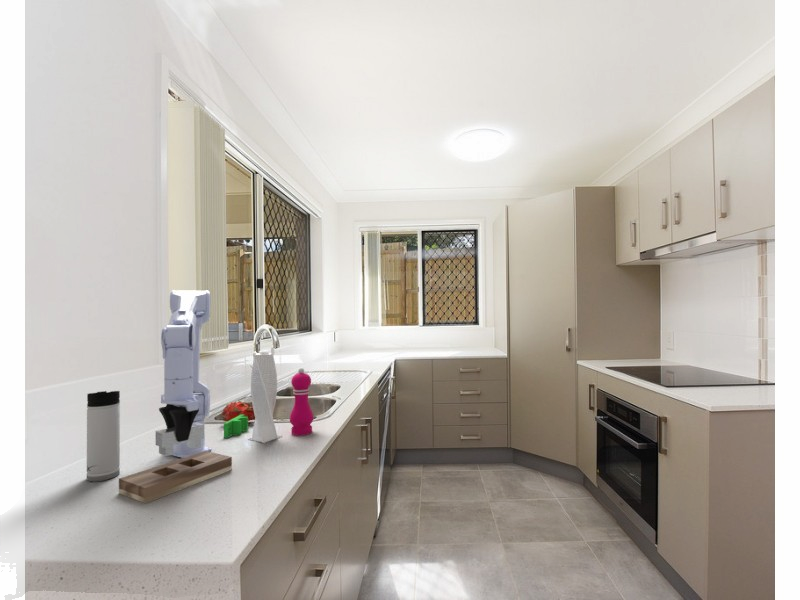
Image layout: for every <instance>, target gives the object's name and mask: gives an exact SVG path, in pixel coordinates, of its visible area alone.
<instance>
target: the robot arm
mask: <svg viewBox="0 0 800 600" xmlns="http://www.w3.org/2000/svg"><path fill="white" fill-rule="evenodd" d="M169 309H170V312H171V313H170V314H171V315H170V318H169V321H168V324H167V325H166V326H165V327H162V329H161V333H160V334H161V335H160V336H161V337H160V342H161V343H160V344H161V347H162V359H163V360H164V363H163V365H164V367H163V369H164V372H163V373H164V379H163V381H164V382H163V383H164V387H163V388H164V392H163V393H164V394H161V395H160V399H161V400H160V403H161V404H166V405H165V406H162V407H159V408H158V411H159V413H161V416H162V417H163V419H164V422H165V425H166V429H168V428H172V427H175V431H176V438H177V441H178V442H181V441H185V440H188V439H189V435H190V431H191V427H192V424H193V423H196V422H198V423H201V424H204V425H205V418H206V417H208V416H209V414H210V411H211V395H210V389H209V387H208V386H207V385H206V384H204V383H203V382H201V381H200V360H201V359H200V355H201V353H200V351H201V330H202V327H203V324H205V323H207V322H209V321H210V317H211V292H210V291H209V290H208V289H207V290H176V289H172V291H171V292H170V294H169ZM205 435H206V434H205V430H204V438H201V447H200V448H196V449H192V448H190V447H188V446H187V442H184V443H180V444H176V445H173V455H172V456H174V457H177V458H180V459H181V458H184V457H187V456H190V455H194V454H197V453H200V452H203V451H209V452H211V451H212V449H213V448H212V447H209V446H205Z"/></svg>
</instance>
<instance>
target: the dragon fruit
mask: <svg viewBox="0 0 800 600" xmlns="http://www.w3.org/2000/svg"><path fill="white" fill-rule="evenodd" d="M241 414H244V417H248V425H250V424H252V423H251V422H249V421H253V420H255V414H254V410H253V406H252V407H251V405H250V404H249V403H246V402H245V401H243V402H242V401H241V400H240V401H238V402H237V401H231V402H230V403H228V404H226V406H225V407H224V408H223V410H222V411H221V415H222V421H223V422H224V423H226V422H228V421H229V420H231V419H233V418H235V417H237V416H239V415H241Z"/></svg>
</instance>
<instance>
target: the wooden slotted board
mask: <svg viewBox="0 0 800 600" xmlns="http://www.w3.org/2000/svg"><path fill="white" fill-rule="evenodd" d="M232 464H233V458H232V456H228V455H225V454H220V453H216V452H213V451H203V452H200V453H197V454H194V455H190V456H187V457H184V458H181V457H180V458H178V459H176V460H172V461H169V462H166V463H163V464H160V465H157V466H156V465H155V466H154V467H150V468H148V469H144V470H141V471H138V472H136V473H135V472H134V473H132V474H129V475H126V476H123V477H120V478H118V494H120V495H122V496H124V497H128V498H129V499H130V498H131V499H133V500H136V501H138V502H139V503H140V502H141V503H143V504H149V503H150V502H153V501H155V500H157V499H161V498H163V497H165V496H168V495H171V494H173V493H175V492H179V491H181V490H183V488H184V489H186V488H189V487H191V486H194V485H196V484H199V483H201V482H203V481H206V480H209V479H211V478H214V477H216V476H219V475H221V474H224V473H227V472H230V471H232V470H233V469H232V467H233V465H232ZM188 486H189V487H188ZM180 489H181V490H180ZM178 490H179V491H178Z"/></svg>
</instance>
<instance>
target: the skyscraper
mask: <svg viewBox="0 0 800 600" xmlns="http://www.w3.org/2000/svg"><path fill="white" fill-rule="evenodd" d="M274 355H275V346H273V345H271V347H270V350H259V351H258V352H257V351H253V352H252V356H253V362H252V363H253V364H252V367H251V376H250V396H251V403H252V408H253V410H254V414H255V419H254V424H253V430H252V435H251V438H248V439H247V441H251V442H255V441H256V442H255V443H260V442H261V444H266V443H268V441H269V442H271V440H272V441H274V439H275V440H278V439H281V438H283V436H281V435H278V433H277V429H276V425H275V421H274V417H273V415H274V410H275V407H276V400H277V394H278V374H277V367H276V362H275V357H274ZM280 437H281V438H280ZM265 442H266V443H265Z"/></svg>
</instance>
